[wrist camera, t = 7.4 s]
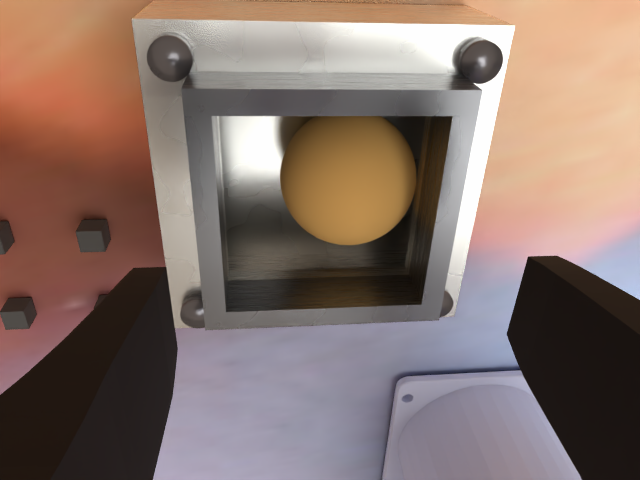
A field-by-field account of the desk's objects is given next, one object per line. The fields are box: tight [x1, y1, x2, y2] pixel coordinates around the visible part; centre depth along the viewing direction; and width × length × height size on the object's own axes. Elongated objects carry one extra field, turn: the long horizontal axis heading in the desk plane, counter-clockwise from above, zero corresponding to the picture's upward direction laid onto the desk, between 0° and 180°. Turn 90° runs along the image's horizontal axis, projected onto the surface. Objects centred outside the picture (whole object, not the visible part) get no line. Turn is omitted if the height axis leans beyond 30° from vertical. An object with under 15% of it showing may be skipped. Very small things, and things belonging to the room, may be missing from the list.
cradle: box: [0, 219, 111, 330], centre depth 19 cm, size 4×4×1 cm
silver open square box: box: [132, 0, 515, 330], centre depth 16 cm, size 9×9×5 cm
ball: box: [280, 116, 416, 245], centre depth 16 cm, size 4×4×4 cm
